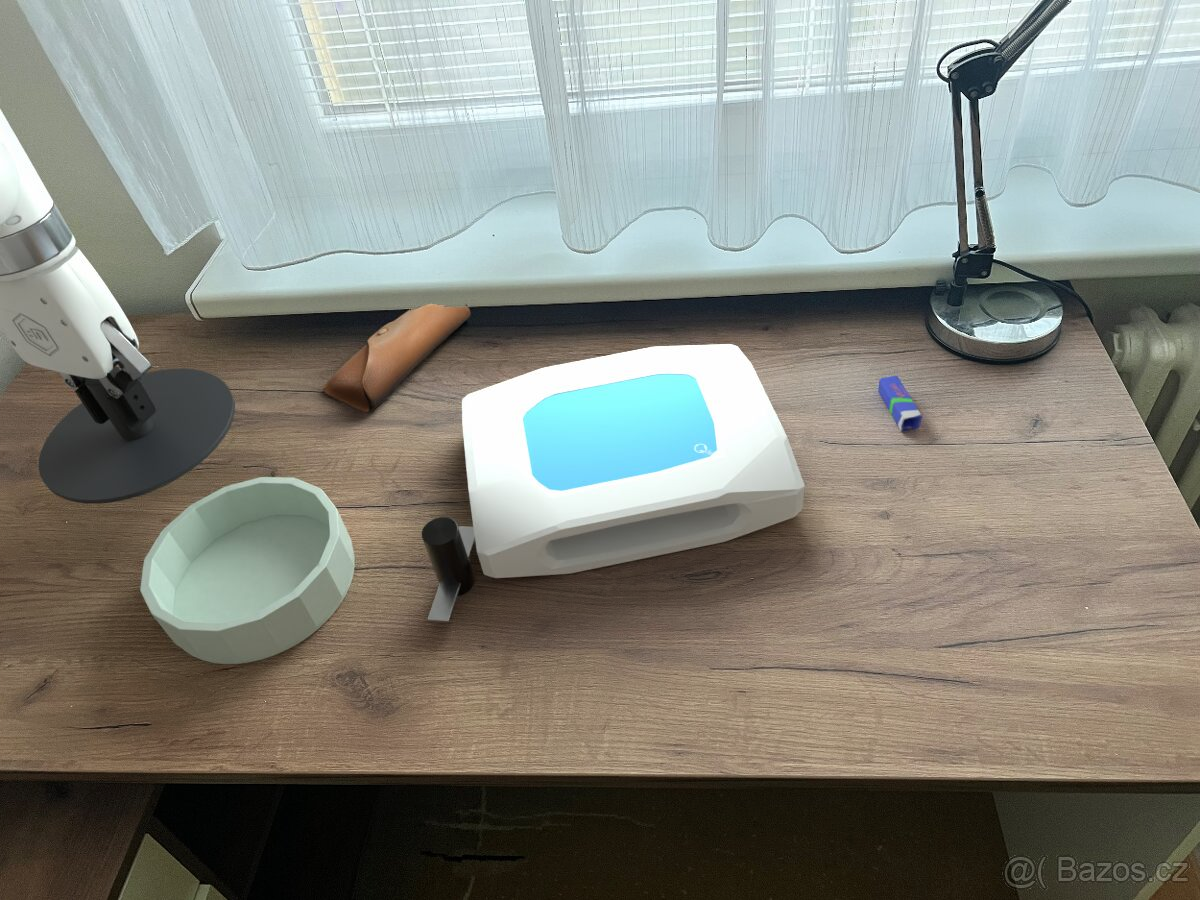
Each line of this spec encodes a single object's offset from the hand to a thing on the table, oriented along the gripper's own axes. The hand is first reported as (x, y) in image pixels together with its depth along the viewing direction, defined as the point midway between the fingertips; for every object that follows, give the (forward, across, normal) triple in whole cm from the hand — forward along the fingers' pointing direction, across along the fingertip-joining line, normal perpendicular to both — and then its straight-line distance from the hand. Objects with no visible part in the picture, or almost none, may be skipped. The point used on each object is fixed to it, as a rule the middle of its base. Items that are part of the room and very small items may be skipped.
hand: (126, 416), depth 80 cm
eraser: (+11, +65, +31) cm, 73 cm away
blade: (+11, +33, -1) cm, 34 cm away
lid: (+2, 0, 0) cm, 2 cm away
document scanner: (+11, +42, +16) cm, 46 cm away
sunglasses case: (+11, +11, +25) cm, 30 cm away
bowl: (+11, +16, -6) cm, 20 cm away
